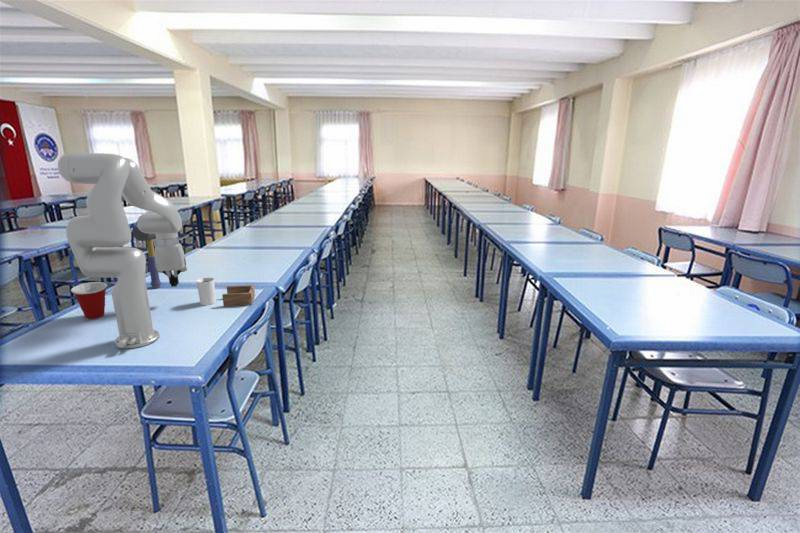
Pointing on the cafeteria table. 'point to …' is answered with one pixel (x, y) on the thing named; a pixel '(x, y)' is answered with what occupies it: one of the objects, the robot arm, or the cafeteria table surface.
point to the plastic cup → (91, 298)
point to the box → (239, 295)
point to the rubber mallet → (151, 259)
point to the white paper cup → (206, 291)
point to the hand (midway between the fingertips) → (174, 285)
